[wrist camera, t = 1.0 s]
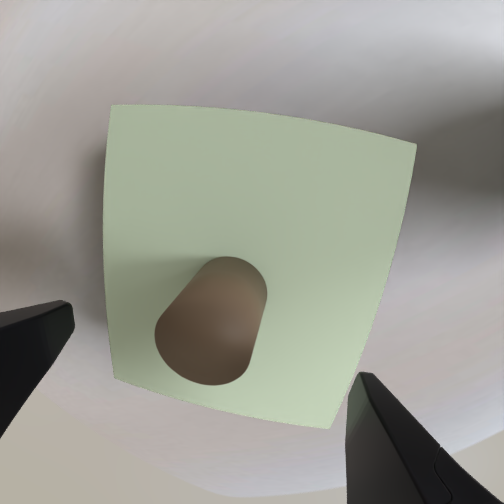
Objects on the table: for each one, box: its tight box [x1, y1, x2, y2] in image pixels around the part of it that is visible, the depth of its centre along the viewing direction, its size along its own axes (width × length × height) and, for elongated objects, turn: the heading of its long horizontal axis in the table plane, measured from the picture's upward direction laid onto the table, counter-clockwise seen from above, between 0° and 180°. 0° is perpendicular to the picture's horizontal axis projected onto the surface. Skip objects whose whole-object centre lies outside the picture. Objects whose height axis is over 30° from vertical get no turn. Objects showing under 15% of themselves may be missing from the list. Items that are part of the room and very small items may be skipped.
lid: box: [103, 105, 417, 429], centre depth 11 cm, size 12×14×5 cm
